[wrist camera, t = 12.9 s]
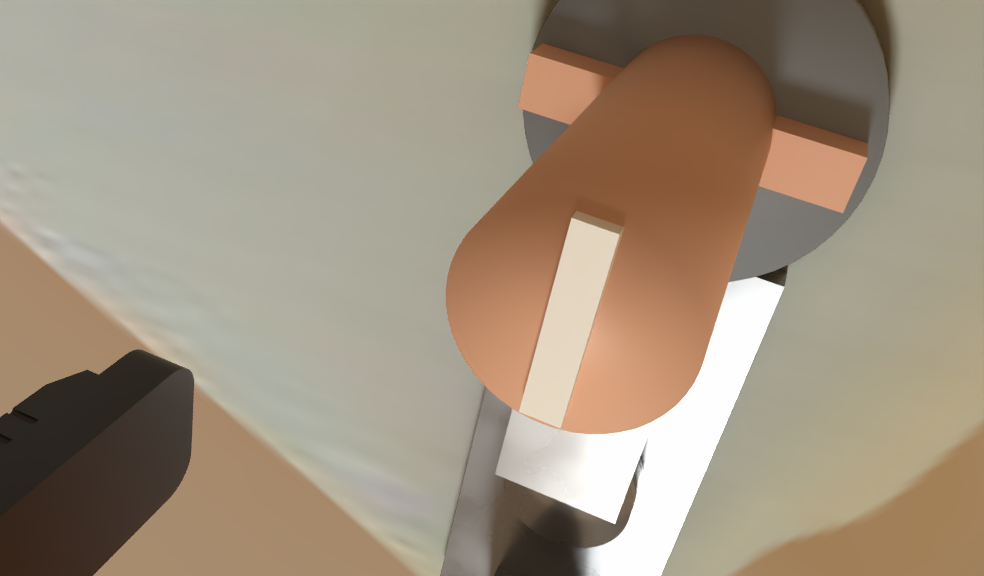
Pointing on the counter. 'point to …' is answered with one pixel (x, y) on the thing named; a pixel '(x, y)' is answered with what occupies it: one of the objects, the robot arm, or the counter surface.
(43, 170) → the counter surface
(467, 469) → the keeper post
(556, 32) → the coaster
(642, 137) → the knob
